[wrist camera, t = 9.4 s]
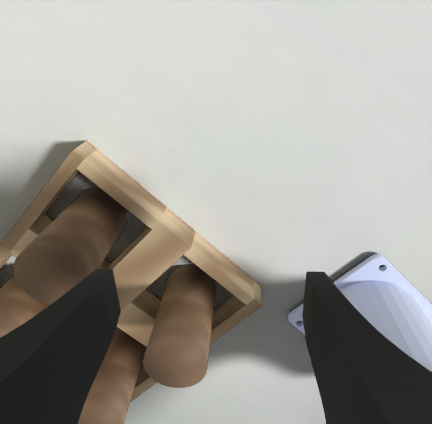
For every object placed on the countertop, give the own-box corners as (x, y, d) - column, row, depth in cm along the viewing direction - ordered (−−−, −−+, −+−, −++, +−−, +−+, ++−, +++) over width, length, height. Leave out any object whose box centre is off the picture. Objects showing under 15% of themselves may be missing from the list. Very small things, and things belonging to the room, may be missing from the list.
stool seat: (260, 286, 25) (266, 369, 19) (134, 382, 31) (106, 471, 25) (86, 140, 21) (21, 185, 15) (-23, 280, 27) (-104, 355, 21)
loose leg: (138, 213, 23) (99, 279, 17) (106, 244, 25) (59, 316, 18) (95, 177, 22) (38, 233, 16) (64, 211, 24) (0, 275, 17)
